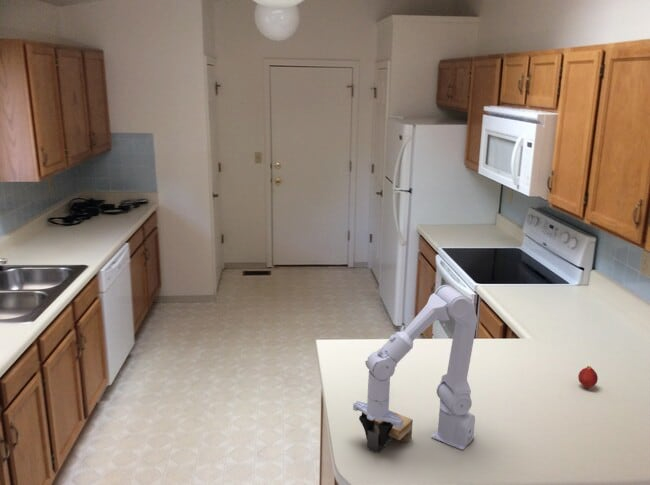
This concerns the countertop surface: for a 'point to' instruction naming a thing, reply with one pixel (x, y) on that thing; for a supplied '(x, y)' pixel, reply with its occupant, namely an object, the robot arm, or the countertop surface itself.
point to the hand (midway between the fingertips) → (376, 441)
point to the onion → (588, 377)
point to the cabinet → (400, 429)
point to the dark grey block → (375, 439)
